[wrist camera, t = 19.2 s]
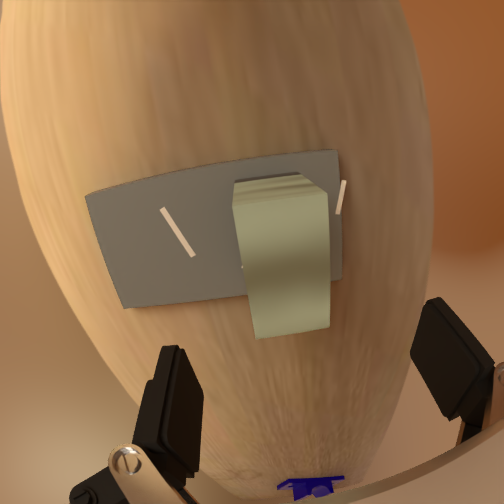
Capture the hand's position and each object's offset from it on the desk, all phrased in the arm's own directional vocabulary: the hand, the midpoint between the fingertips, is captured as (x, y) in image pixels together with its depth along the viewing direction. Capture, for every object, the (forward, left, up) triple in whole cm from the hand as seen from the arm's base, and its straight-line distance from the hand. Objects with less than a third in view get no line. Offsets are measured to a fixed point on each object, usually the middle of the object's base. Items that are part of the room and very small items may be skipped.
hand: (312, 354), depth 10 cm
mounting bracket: (+76, +4, -17) cm, 78 cm away
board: (+1, -5, -16) cm, 17 cm away
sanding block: (0, 0, -15) cm, 15 cm away
